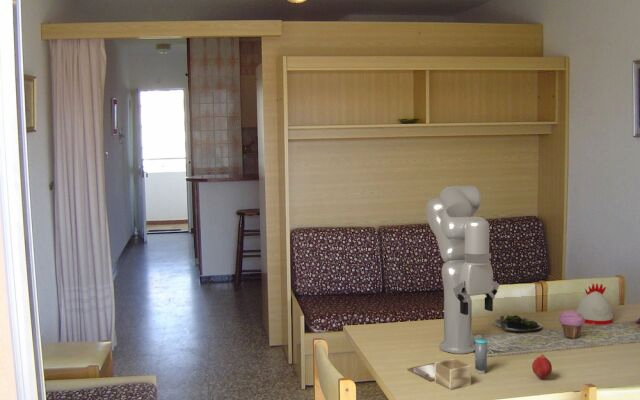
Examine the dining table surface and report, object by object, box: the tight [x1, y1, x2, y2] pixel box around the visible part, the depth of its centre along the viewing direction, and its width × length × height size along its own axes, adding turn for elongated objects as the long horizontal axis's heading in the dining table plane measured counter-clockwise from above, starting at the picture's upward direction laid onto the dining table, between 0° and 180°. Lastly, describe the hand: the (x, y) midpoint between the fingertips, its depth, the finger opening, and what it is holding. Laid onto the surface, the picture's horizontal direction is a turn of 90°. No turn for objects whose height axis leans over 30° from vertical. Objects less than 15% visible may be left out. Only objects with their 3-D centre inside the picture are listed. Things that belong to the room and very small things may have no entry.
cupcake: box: [558, 310, 585, 339], centre depth 247 cm, size 9×9×10 cm
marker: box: [474, 338, 488, 374], centre depth 212 cm, size 4×4×10 cm
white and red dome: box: [576, 283, 614, 326], centre depth 269 cm, size 14×14×15 cm
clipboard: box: [407, 359, 446, 383], centre depth 213 cm, size 16×12×1 cm
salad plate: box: [493, 314, 544, 334], centre depth 262 cm, size 19×18×5 cm
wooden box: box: [434, 358, 472, 391], centre depth 203 cm, size 8×8×6 cm
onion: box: [531, 353, 553, 380], centre depth 205 cm, size 6×6×8 cm
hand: (476, 312), depth 211 cm, fingers open, 9 cm apart
